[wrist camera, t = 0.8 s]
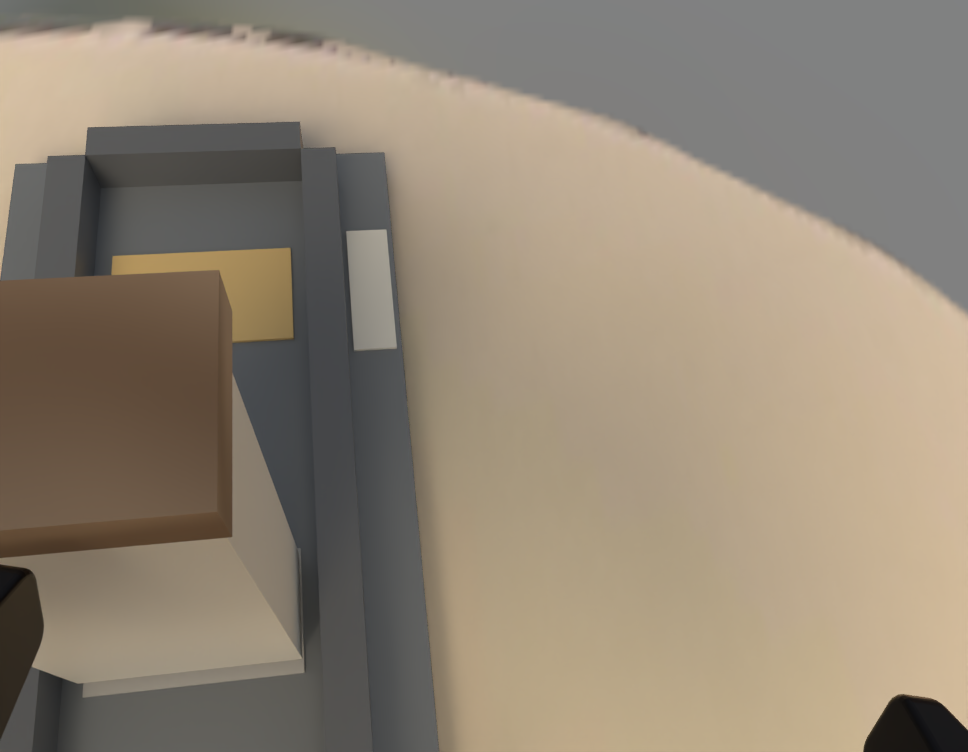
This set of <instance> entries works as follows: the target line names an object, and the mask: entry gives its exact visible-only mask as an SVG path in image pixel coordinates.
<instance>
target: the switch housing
mask: <svg viewBox="0 0 968 752" xmlns="http://www.w3.org/2000/svg"><path fill="white" fill-rule="evenodd" d="M207 270H219V271H220V275H221V278H222V281H223V284H224V287H225V290H226V293H227V296H228V299H229V302H230V306H231V309H232V373H233V376H234V378H235V381H236V384H237V387H238V389H239V392H240V395H241V397H242V400H243V403H244V405H245V408H246V411H247V414H248V416H249V419H250V422H251V424H252V427H253V430H254V433H255V435H256V438H257V441H258V443H259V446H260V449H261V452H262V454H263V457H264V460H265V462H266V465H267V468H268V471H269V473H270V476H271V479H272V481H273V484H274V487H275V489H276V492H277V495H278V498H279V500H280V503H281V506H282V508H283V511H284V514H285V517H286V519H287V522H288V525H289V527H290V530H291V533H292V536H293V538H294V541H295V544H296V546H297V549H298V552H299V562H300V593H301V624H302V655H303V659H298V660H289V661H280V662H270V663H261V664H252V665H243V666H234V667H225V668H216V669H207V670H198V671H189V672H180V673H171V674H162V675H153V676H143V677H134V678H125V679H116V680H107V681H98V682H89V683H80V684H77V683H74V682H72V681H69V680H66V679H63V678H61V677H58V676H55V675H53V674H50V673H47V672H44V671H42V670H39V669H36V668H34V667H31V669H30V671H29V674H28V676H27V679H26V681H25V683H24V686H23V688H22V690H21V693H20V695H19V698H18V700H17V702H16V705H15V707H14V709H13V712H12V714H11V716H10V719H9V721H8V724H7V726H6V728H5V731H4V733H3V735H2V738H1V740H0V752H439V746H438V735H437V724H436V713H435V702H434V691H433V680H432V669H431V658H430V647H429V636H428V625H427V614H426V604H425V593H424V582H423V571H422V560H421V549H420V538H419V527H418V516H417V505H416V494H415V483H414V472H413V461H412V451H411V440H410V429H409V418H408V407H407V396H406V385H405V374H404V363H403V352H402V341H401V330H400V319H399V308H398V298H397V287H396V276H395V265H394V254H393V243H392V232H391V221H390V210H389V199H388V188H387V177H386V166H385V156H384V152H383V153H352V154H336V150H335V147H331V148H303V144H302V136H301V129H300V122H276V123H238V124H201V125H163V126H126V127H88V130H87V141H86V152H85V155H71V156H48V160H47V163H38V164H15V171H14V179H13V187H12V194H11V202H10V210H9V217H8V225H7V233H6V240H5V248H4V256H3V263H2V271H1V279H0V281H4V280H24V279H44V278H65V277H85V276H105V275H126V274H146V273H166V272H187V271H207Z"/></svg>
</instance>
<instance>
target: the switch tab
mask: <svg viewBox="0 0 968 752" xmlns="http://www.w3.org/2000/svg"><path fill="white" fill-rule="evenodd" d="M0 564H1V565H8V566H15V567H22V568H27V569H30V570H31V571H32V572H33V573H34V575H35V577H36V580H37V586H38V591H39V597H40V603H41V608H42V614H43V619H44V633H43V638H42V642H41V645H40V648H39V650H38V652H37V655H36V657H35V660H34V662H33V664H32V667H34V668H36V669H39V670H42V671H44V672H47V673H50V674H53V675H55V676H58V677H61V678H63V679H66V680H69V681H72V682H74V683H77V684H80V683H89V682H98V681H107V680H116V679H125V678H134V677H143V676H153V675H162V674H171V673H180V672H189V671H198V670H207V669H216V668H225V667H234V666H243V665H252V664H261V663H270V662H280V661H289V660H298V659H303V655H302V624H301V593H300V562H299V552H298V549H297V546H296V544H295V541H294V538H293V536H292V533H291V530H290V527H289V525H288V522H287V519H286V517H285V514H284V511H283V508H282V506H281V503H280V500H279V498H278V495H277V492H276V489H275V487H274V484H273V481H272V479H271V476H270V473H269V471H268V468H267V465H266V462H265V460H264V457H263V454H262V452H261V449H260V446H259V443H258V441H257V438H256V435H255V433H254V430H253V427H252V424H251V422H250V419H249V416H248V414H247V411H246V408H245V405H244V403H243V400H242V397H241V395H240V392H239V389H238V387H237V384H236V381H235V378H234V376H233V373H232V309H231V306H230V302H229V299H228V296H227V293H226V290H225V287H224V284H223V281H222V278H221V275H220V271H219V270H207V271H187V272H166V273H146V274H126V275H105V276H85V277H65V278H44V279H24V280H4V281H0Z"/></svg>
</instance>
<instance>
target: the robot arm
mask: <svg viewBox="0 0 968 752" xmlns="http://www.w3.org/2000/svg"><path fill="white" fill-rule="evenodd" d="M43 633H44V619H43V614H42V608H41V603H40V597H39V591H38V586H37V580H36V577H35V575H34V573H33V572H32V571H31V570H30V569H27V568H22V567H15V566H8V565H1V564H0V740H1V738H2V735H3V733H4V731H5V728H6V726H7V724H8V721H9V719H10V716H11V714H12V712H13V709H14V707H15V705H16V702H17V700H18V698H19V695H20V693H21V690H22V688H23V686H24V683H25V681H26V679H27V676H28V674H29V671H30V669H31V667H32V664H33V662H34V660H35V657H36V655H37V652H38V650H39V648H40V645H41V642H42V638H43ZM863 752H968V730H967V729H966V728H965V727H964V726H963V725H962V724H961V723H960V722H959V721H958V720H957V719H956V718H955V717H954V715H953V714H952V713H951V712H950V711H949V710H948V709H947V708H946V707H945V706H943V705H942V704H941V703H940V702H938V701H936V700H934V699H931V698H926V697H919V696H912V695H905V694H900V695H897V696H895V697H893V698H892V699H891V700H890V701H889V703H888V705H887V706H886V708H885V710H884V711H883V713H882V714H881V716H880V718H879V719H878V721H877V722H876V724H875V726H874V727H873V729H872V730H871V732H870V734H869V735H868V737H867V739H866V742H865V745H864V750H863Z"/></svg>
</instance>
